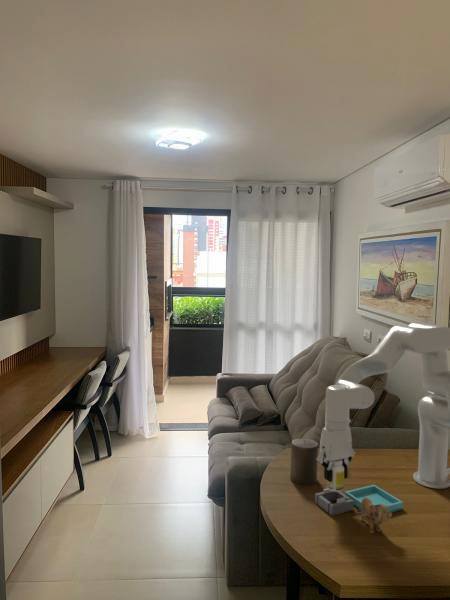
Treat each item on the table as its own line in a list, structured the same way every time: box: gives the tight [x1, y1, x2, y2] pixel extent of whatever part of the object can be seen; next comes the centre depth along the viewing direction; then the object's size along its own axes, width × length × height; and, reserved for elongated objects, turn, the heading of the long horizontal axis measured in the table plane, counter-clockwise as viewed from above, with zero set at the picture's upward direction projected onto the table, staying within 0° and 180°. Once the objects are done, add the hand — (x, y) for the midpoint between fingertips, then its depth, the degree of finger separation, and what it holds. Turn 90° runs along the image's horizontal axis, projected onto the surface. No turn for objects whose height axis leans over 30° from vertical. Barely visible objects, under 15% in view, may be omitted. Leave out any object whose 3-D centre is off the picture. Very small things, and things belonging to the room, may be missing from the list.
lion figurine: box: [356, 498, 393, 534], centre depth 135 cm, size 15×5×9 cm, turn 17°
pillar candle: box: [289, 438, 319, 486], centre depth 165 cm, size 10×10×15 cm
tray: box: [344, 484, 404, 514], centre depth 148 cm, size 13×13×2 cm
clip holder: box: [314, 487, 355, 517], centre depth 146 cm, size 9×9×4 cm
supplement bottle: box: [326, 459, 345, 492], centre depth 146 cm, size 5×5×10 cm
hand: (335, 477), depth 146 cm, fingers closed on supplement bottle, 5 cm apart
